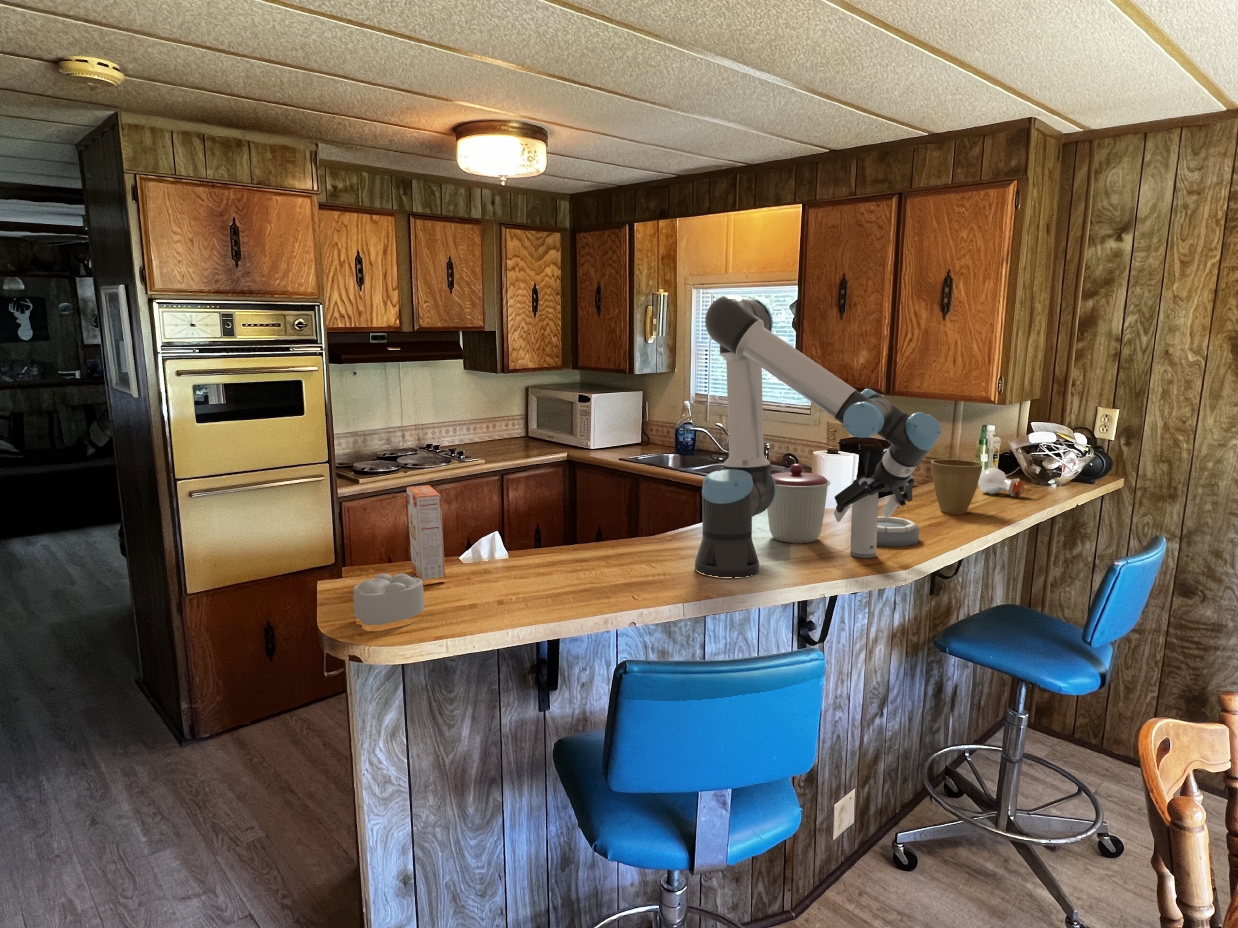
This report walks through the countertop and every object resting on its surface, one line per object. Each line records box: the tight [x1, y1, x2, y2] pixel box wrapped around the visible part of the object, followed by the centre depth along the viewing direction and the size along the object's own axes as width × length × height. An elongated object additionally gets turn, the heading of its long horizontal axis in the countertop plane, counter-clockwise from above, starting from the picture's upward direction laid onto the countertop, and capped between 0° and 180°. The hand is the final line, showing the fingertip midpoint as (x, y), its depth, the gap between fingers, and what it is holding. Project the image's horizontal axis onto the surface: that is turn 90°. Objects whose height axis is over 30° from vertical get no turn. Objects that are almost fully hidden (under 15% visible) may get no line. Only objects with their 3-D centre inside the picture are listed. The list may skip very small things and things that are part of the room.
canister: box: [766, 463, 831, 544], centre depth 211 cm, size 18×18×21 cm
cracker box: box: [406, 484, 446, 580], centre depth 180 cm, size 14×6×21 cm, turn 23°
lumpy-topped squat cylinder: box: [352, 573, 425, 625], centre depth 152 cm, size 10×13×9 cm
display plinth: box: [876, 515, 920, 548], centre depth 211 cm, size 17×17×5 cm
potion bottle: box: [977, 467, 1025, 498], centre depth 271 cm, size 9×10×15 cm
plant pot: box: [930, 459, 984, 515], centre depth 244 cm, size 15×15×16 cm
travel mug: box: [850, 478, 879, 559], centre depth 194 cm, size 6×7×20 cm
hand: (861, 515), depth 196 cm, fingers open, 13 cm apart
